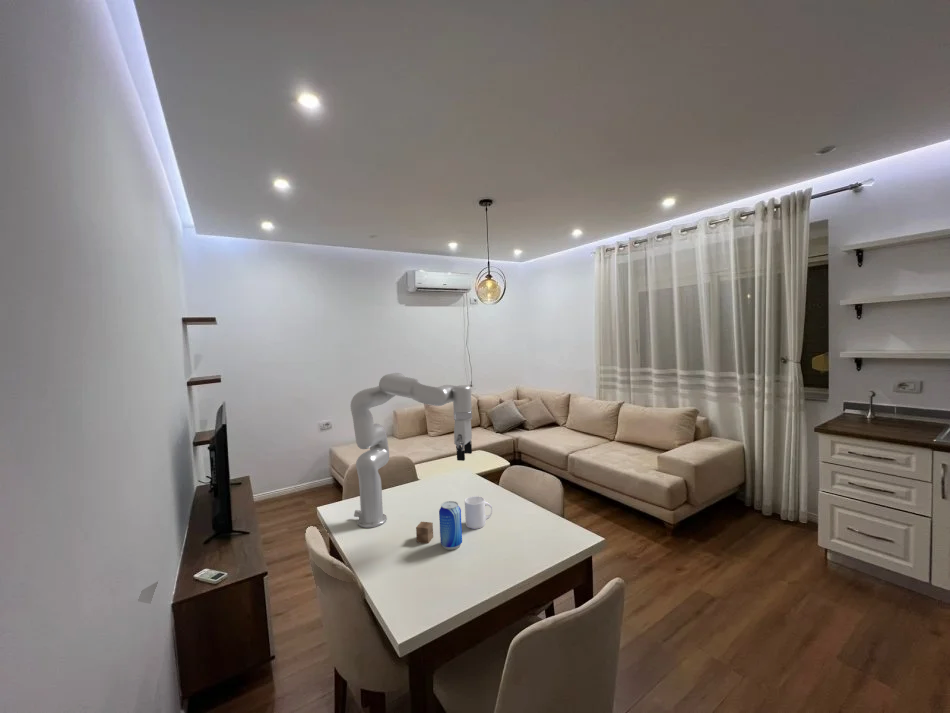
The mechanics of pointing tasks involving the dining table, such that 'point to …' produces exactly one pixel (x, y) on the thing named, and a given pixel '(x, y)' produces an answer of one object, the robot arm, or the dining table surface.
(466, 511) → the mug
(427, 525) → the walnut block
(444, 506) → the beer can
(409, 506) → the dining table surface
